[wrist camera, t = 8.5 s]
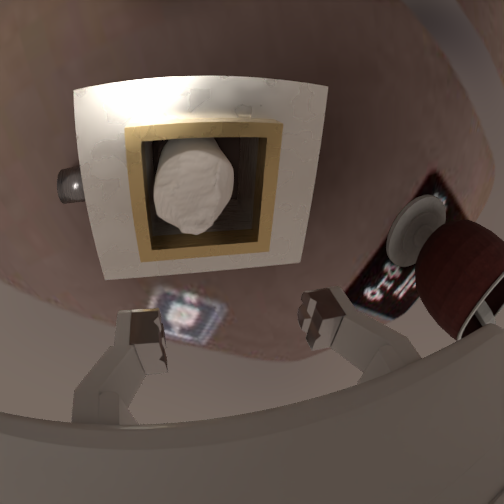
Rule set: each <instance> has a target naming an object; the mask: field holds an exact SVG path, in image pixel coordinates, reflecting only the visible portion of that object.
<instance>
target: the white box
mask: <svg viewBox="0 0 504 504" xmlns="http://www.w3.org/2000/svg"><path fill="white" fill-rule="evenodd" d="M327 94H328V86H322V85H316V84H310V83H303V82H296V81H288V80H279V79H269V78H256V77H239V76H178V77H161V78H149V79H139V80H130V81H122V82H115V83H109V84H103V85H97V86H91V87H86V88H81V89H77V90H74V112H75V126H76V138H77V147H78V156H79V163H80V166H79V167H72V168H67V169H62V170H61V171H60V172H59V175H58V179H57V190H58V195H59V198H60V201H61V202H62V203H63V204H67V203H74V202H81V201H86V205H87V210H88V215H89V220H90V224H91V229H92V233H93V237H94V241H95V245H96V249H97V253H98V257H99V260H100V264H101V268H102V271H103V274H104V278H105V280H112V279H125V278H138V277H150V276H162V275H174V274H185V273H197V272H208V271H219V270H230V269H240V268H251V267H261V266H271V265H281V264H291V263H300V261H301V256H302V251H303V246H304V240H305V235H306V230H307V225H308V219H309V214H310V208H311V202H312V196H313V191H314V185H315V179H316V172H317V166H318V160H319V153H320V146H321V139H322V132H323V125H324V118H325V110H326V102H327ZM206 137H241V139H240V156H239V174H238V194H237V199H230V200H229V202H228V203H227V205H226V206H225V208H224V209H223V211H222V212H221V214H220V215H219V216H218V218H217V219H216V220H215V221H214V223H213V225H212V226H211V227H209V228H208V229H207V230H206V231H205V232H203V233H200V234H198V235H194V234H188V233H187V234H186V233H182V232H181V231H180V229H179V228H178V227H176V226H175V225H172V224H170V223H168V222H166V221H164V220H163V219H162V218H160V217H159V216H158V215H157V212H156V209H155V203H154V183H155V180H154V164H153V144H152V141H154V140H166V139H182V138H206Z"/></svg>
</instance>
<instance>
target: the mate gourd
mask: <svg viewBox="0 0 504 504" xmlns="http://www.w3.org/2000/svg"><path fill="white" fill-rule="evenodd" d="M445 220H446V211H445V206H444V205H443V203H442V201H441V200H440V199H438V198H437V197H435V196H433V195H423V196H420V197H418V198H416V199H414V200H413V201H411V202H410V203H409V204H408V205H406V206H405V207H404V208H403V210H402V211H401V212H400V213H399V214H398V216H397V218H396V219H395V221H394V222H393V224H392V226H391V228H390V231H389V234H388V238H387V243H386V250H387V255H388V257H389V259H390V260H391V261H392V262H393V263H394V264H395V265H397V266H400V267H406V266H410V265H413V264H415V263H416V264H415V277H416V289H417V292H418V294H419V296H420V298H421V300H422V302H423V304H424V305H425V307H426V309H427V310H428V312H429V313H430V315H431V316H432V317H433V318H434V320H435V321H436V322H437V323H438V325H439V326H440V327H441V328H442V329H444V330H445V331H446V332H447V333H448V334H449V335H450V336H451V337H452V338H454V339H455V340H457V341H458V340H460V339H462V338H464V337H466V336H467V335H469V334H471V333H473V332H474V331H476V330H478V329H479V328H481V327H483V326H484V325H486V324H489V323H493V324H495V325H496V321H495V317H496V316H497V315H498V314H499V312H500V311H501V310H502V308H503V307H504V241H502V240H501V239H500V238H499V237H498V236H497V235H495V234H494V233H493V232H492V231H490V230H488V229H486V228H485V227H483V226H481V225H479V224H477V223H475V222H472V221H470V220H457V221H450V222H447V223H445Z"/></svg>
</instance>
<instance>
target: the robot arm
mask: <svg viewBox="0 0 504 504" xmlns="http://www.w3.org/2000/svg"><path fill="white" fill-rule="evenodd" d="M301 301H302V302H303V303H302V305H301V306H300V307H299V309H298V322H299V325H300V327H301V330H303V331H304V332H306V333H307V335H306V340H307V342H308V344H309V346H310V348H311V350H312V351H314V350H318V349H323V348H328V347H331V348H332V349H333V350H334V351H336V352H337V353H338V354H339V355H341V356H342V357H343V358H345V359H346V360H347V361H349V362H350V363H351V364H353V365H354V366H355V367H357V368H358V369H359V370H361V371H362V372H363V375H362V376H361V378H360V379H359V381H358V383H357V385H355V386H352V387H349V388H346V389H343V390H340V391H337V392H333V393H330V394H327V395H323V396H320V397H316V398H312V399H309V400H305V401H301V402H297V403H293V404H289V405H285V406H281V407H277V408H272V409H267V410H262V411H257V412H252V413H246V414H241V415H235V416H229V417H222V418H214V419H207V420H199V421H189V422H178V423H163V424H140V425H139V424H138V422H137V421H136V420H135V418H134V417H133V415H132V414H131V413H130V411H129V410H128V407H129V405H130V403H131V401H132V400H133V398H134V396H135V394H136V393H137V391H138V389H139V387H140V385H141V384H142V382H143V380H144V378H145V377H146V376H145V375H150V374H161V373H167V372H168V368H167V357H166V353H165V349H166V340H165V332H164V327H163V324H162V323H161V313H160V309H159V308H155V309H136V310H119V312H118V314H117V322H116V331H115V342H114V346H110V347H109V348H108V350H107V351H106V352H105V353H104V354H103V356H102V357H101V358H100V359H99V360H98V362H97V363H96V364H95V365H94V366H93V368H92V369H91V370H90V372H89V373H88V374H87V375H86V376H85V377H84V379H83V380H82V381H81V382H80V384H79V385H78V386H77V388H76V389H75V390H74V398H73V409H72V422H71V423H70V422H60V421H51V420H43V419H36V418H30V417H24V416H18V415H13V414H8V413H4V412H0V504H504V329H503V328H501V327H499V326H498V325H495V324H493V323H489V324H486V325H484V326H483V327H481V328H479V329H478V330H476V331H474V332H473V333H471V334H469V335H467V336H466V337H464V338H462V339H460V340H458V341H456V342H455V343H453V344H451V345H449V346H447V347H445V348H443V349H441V350H439V351H437V352H435V353H433V354H431V355H429V356H427V357H424V358H421V357H420V355H419V354H418V352H417V351H416V349H415V348H414V347H413V345H412V344H411V342H410V341H409V339H408V338H407V337H406V336H404V335H402V334H400V333H398V332H397V331H395V330H393V329H391V328H389V327H387V326H385V325H384V324H382V323H380V322H378V321H376V320H374V319H373V318H371V317H369V316H367V315H365V314H363V313H362V312H360V313H358V312H357V310H356V309H355V307H354V306H353V305H352V303H351V302H350V300H349V299H348V297H347V296H346V295H345V293H344V292H343V290H342V289H341V288H340V287H339V286H335V287H329V288H323V289H317V290H311V291H304V292H303V294H302V296H301Z"/></svg>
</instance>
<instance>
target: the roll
mask: <svg viewBox="0 0 504 504" xmlns="http://www.w3.org/2000/svg"><path fill="white" fill-rule="evenodd" d="M233 185H234V171H233V167H232V165H231V163H230V162H229V160H228V159H227V157H226V156H225V155H224V154H223V152H222V151H221V149H220V148H219V146H218V144H217V142H216V141H215V139H214V138H213V137H206V138H182V139H169V141H168V142H167V143H166V144H165V145H164V147H163V149H162V151H161V154H160V158H159V163H158V168H157V172H156V177H155V183H154V203H155V209H156V212H157V215H158V216H159V217H160V218H162V219H163V220H164V221H166V222H168V223H170V224H172V225H175V226H176V227H178V228H179V229H180V231H181V232H182V233H186V234H187V233H188V234H194V235H198V234H200V233H203V232H205V231H206V230H207V229H208V228H209V227H211V226H212V225H213V223H214V221H215V220H216V219H217V218H218V216H219V215H220V214H221V212H222V211H223V209H224V208H225V206H226V205H227V203H228V202H229V200H230V198H231V196H232V192H233Z"/></svg>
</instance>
